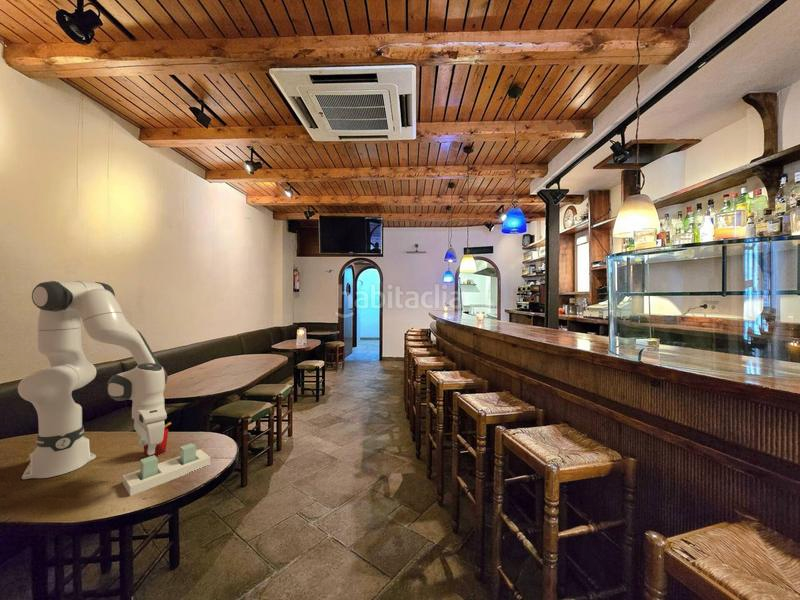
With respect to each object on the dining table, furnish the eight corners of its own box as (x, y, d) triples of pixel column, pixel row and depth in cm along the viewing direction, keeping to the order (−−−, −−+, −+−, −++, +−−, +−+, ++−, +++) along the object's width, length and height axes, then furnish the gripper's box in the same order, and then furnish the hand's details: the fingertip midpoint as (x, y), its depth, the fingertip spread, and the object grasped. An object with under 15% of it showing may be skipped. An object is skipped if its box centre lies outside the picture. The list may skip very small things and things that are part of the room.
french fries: (140, 456, 126) (140, 420, 125) (162, 447, 133) (162, 413, 133) (154, 461, 122) (154, 423, 122) (176, 451, 130) (176, 416, 130)
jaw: (140, 482, 109) (140, 459, 109) (154, 476, 112) (154, 455, 112) (143, 486, 107) (143, 463, 106) (157, 481, 110) (157, 458, 110)
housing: (122, 484, 108) (122, 461, 108) (200, 456, 127) (200, 437, 127) (130, 496, 102) (130, 471, 101) (210, 464, 121) (210, 444, 120)
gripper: (129, 405, 113) (128, 442, 113) (145, 420, 100) (143, 463, 100) (150, 401, 118) (149, 437, 118) (168, 415, 105) (167, 455, 105)
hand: (147, 449), depth 109 cm, fingers open, 8 cm apart
